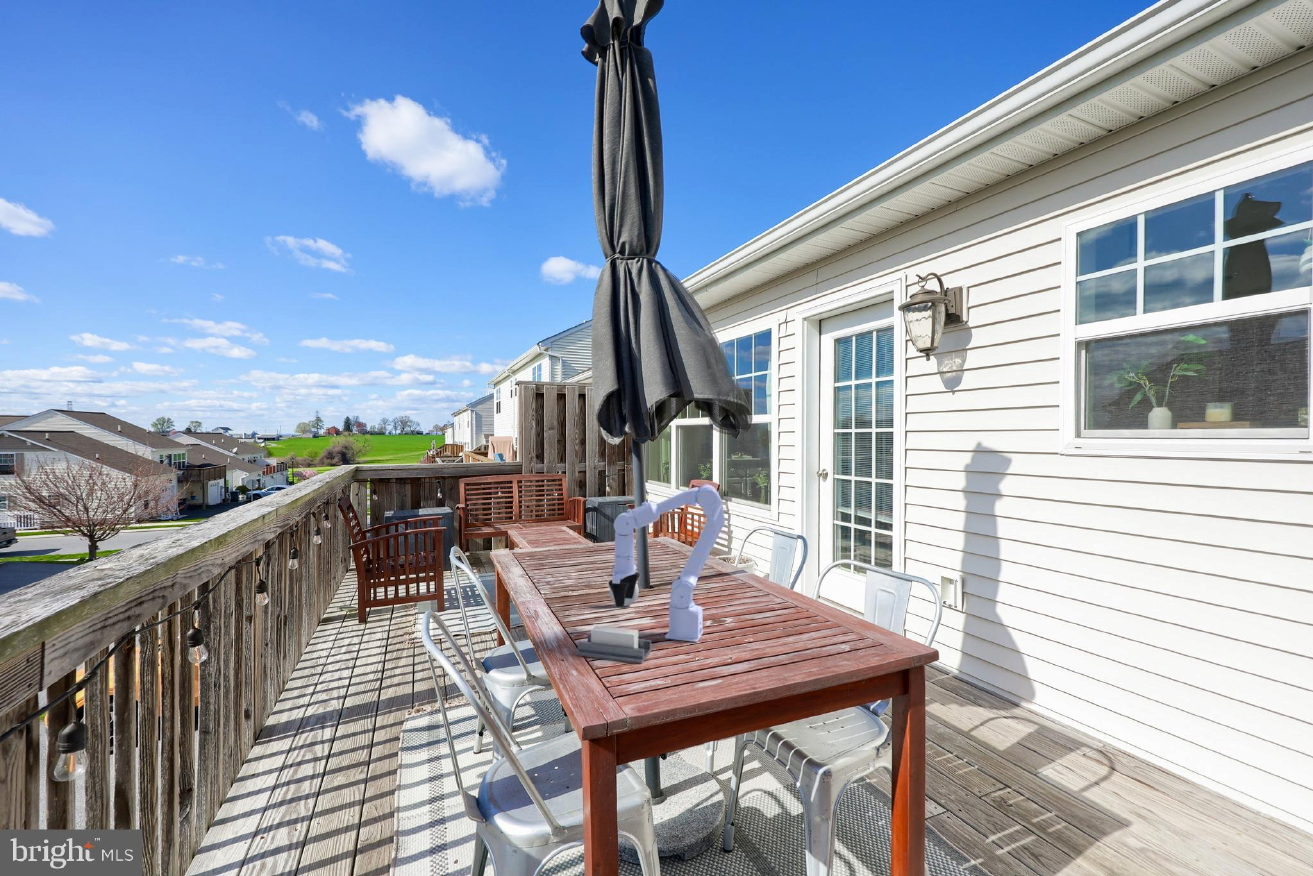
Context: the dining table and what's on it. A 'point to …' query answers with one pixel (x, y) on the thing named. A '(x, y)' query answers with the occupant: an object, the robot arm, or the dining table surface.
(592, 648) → the grey u-channel tray
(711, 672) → the dining table surface
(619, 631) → the grey metal bar
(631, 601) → the donut
